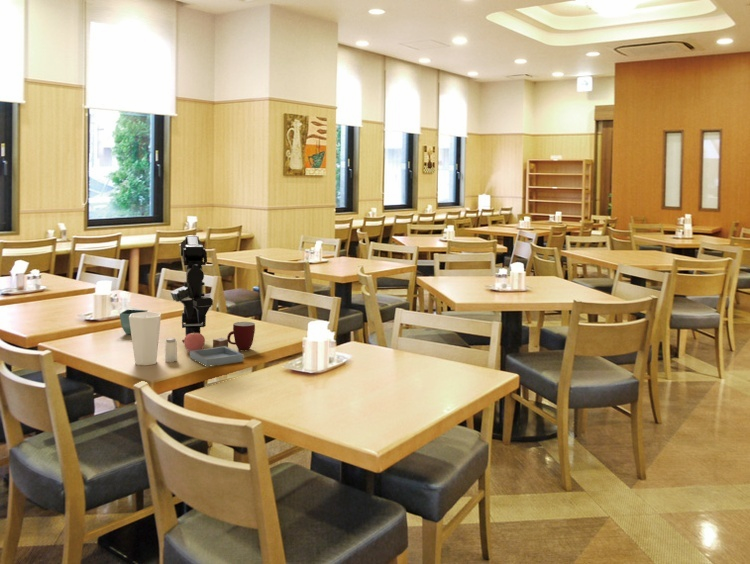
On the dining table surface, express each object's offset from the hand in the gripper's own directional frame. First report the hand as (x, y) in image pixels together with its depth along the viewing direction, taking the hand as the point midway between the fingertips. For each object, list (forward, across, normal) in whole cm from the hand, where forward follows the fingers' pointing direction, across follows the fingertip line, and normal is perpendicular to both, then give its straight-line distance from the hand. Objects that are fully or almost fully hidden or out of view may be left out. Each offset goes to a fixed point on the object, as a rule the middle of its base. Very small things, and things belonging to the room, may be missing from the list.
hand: (194, 321), depth 265 cm
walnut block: (+12, +1, +10) cm, 16 cm away
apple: (+12, 0, 0) cm, 12 cm away
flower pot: (+12, -41, -8) cm, 44 cm away
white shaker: (+12, +7, -12) cm, 18 cm away
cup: (+12, +5, -20) cm, 24 cm away
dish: (+12, +14, +2) cm, 18 cm away
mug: (+12, +6, +16) cm, 21 cm away
